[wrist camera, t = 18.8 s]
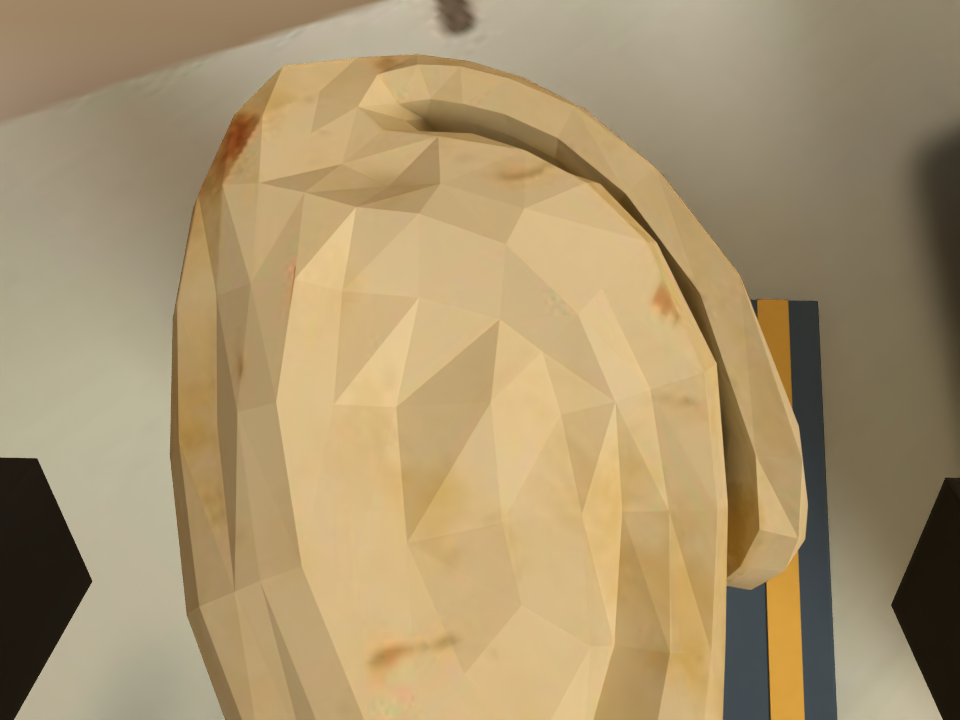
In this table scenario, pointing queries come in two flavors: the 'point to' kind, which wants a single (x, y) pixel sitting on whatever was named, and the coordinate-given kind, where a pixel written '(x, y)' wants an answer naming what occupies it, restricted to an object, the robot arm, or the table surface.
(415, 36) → the table surface
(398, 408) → the food model
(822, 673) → the towel
